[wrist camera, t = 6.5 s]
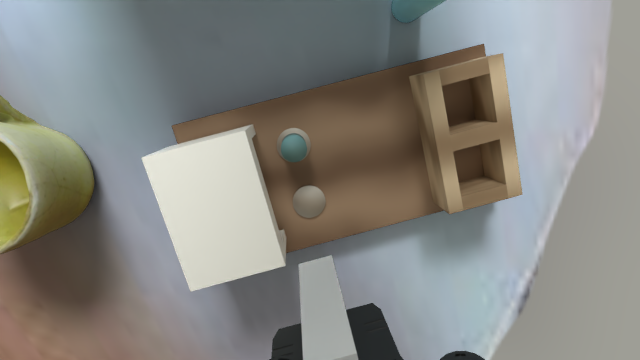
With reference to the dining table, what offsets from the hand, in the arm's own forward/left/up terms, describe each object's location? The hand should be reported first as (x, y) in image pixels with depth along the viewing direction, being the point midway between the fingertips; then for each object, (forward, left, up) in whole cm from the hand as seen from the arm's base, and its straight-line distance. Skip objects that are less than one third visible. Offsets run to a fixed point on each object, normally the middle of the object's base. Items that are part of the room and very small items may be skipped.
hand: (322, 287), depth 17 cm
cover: (-2, -6, -16) cm, 17 cm away
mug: (-9, -21, -19) cm, 29 cm away
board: (-2, +4, -18) cm, 19 cm away
